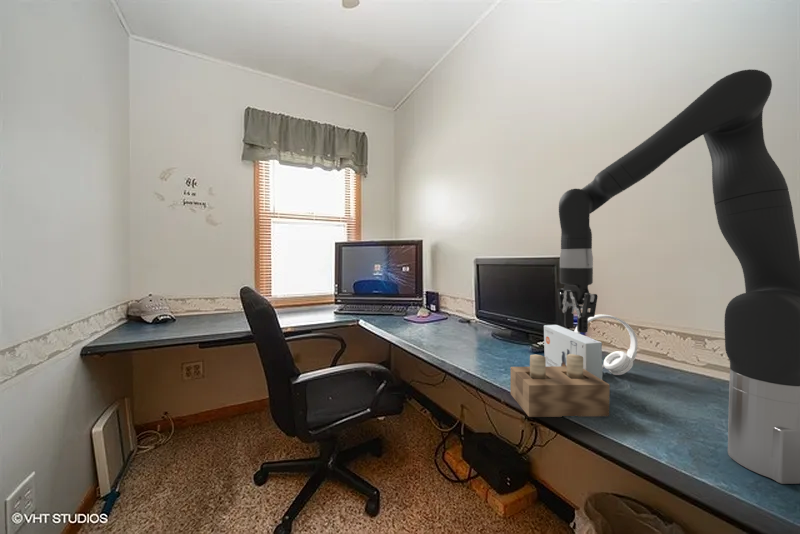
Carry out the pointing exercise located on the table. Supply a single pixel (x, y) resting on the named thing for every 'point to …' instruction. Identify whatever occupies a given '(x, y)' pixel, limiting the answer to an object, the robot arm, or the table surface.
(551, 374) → the socket board
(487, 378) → the table surface
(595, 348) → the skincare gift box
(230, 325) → the table surface
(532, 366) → the dowel
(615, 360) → the headphones
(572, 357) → the dowel
